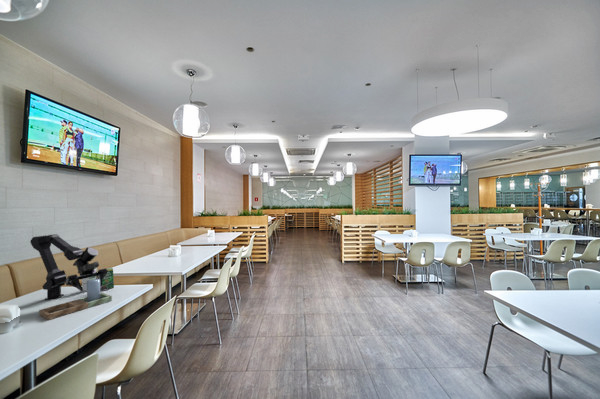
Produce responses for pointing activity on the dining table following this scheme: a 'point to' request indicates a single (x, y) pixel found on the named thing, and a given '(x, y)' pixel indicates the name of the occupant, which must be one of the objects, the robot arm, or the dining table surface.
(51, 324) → the dining table surface
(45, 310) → the caddy
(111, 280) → the coffee box
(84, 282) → the syrup box
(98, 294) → the canister
